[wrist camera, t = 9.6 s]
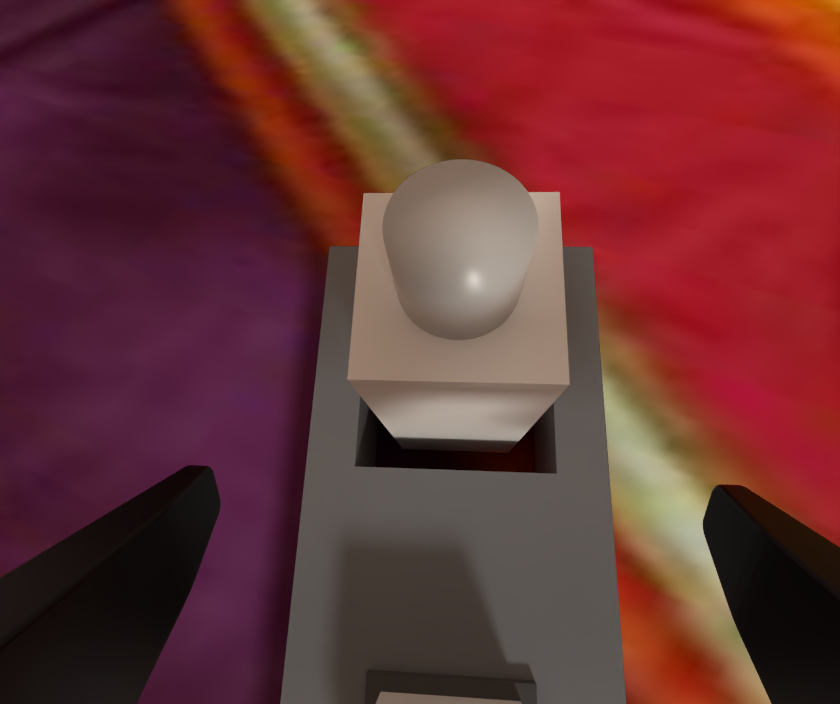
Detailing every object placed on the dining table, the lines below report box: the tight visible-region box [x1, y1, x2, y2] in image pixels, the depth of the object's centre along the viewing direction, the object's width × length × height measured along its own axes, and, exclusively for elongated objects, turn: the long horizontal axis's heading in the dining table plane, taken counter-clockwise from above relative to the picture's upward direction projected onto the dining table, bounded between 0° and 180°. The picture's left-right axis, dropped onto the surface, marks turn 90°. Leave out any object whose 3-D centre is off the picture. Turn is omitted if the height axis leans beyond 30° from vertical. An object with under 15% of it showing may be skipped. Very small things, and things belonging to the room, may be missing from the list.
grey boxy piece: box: [280, 246, 626, 704], centre depth 14 cm, size 21×9×7 cm, turn 178°
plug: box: [347, 159, 570, 453], centre depth 14 cm, size 4×4×12 cm
